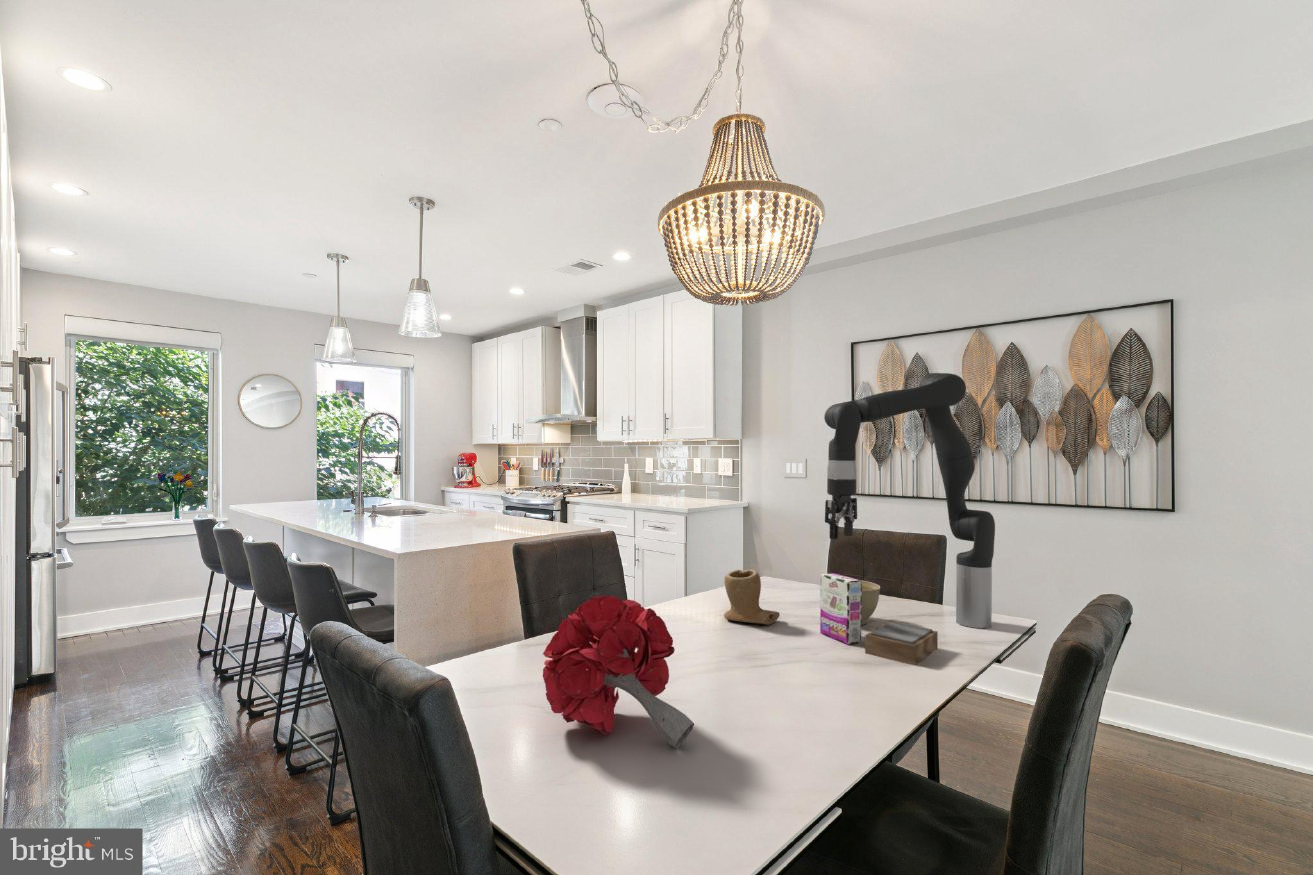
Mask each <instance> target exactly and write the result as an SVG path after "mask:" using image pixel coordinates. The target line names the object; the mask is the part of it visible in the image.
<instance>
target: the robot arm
mask: <svg viewBox="0 0 1313 875" xmlns="http://www.w3.org/2000/svg"><path fill="white" fill-rule="evenodd" d="M966 392H967V385H966V382H965V380H964V379H963V378H962V377H960V375H958V374H953V373H950V372H949V373H948V372H931V373H928V374H926V375H924V376H923V377H922V378H921V380H920V382H919V385H918V386H917V387H911V388H904V389H897V390H889V391H883V392H880V393H876V394H872V395H868V396H865V397H862V398H859V399H854V400H850V401H843V402H840V403H835V404H834V403H833V404H832V405H831V406H829V407H828V408H827V409H826V411H825V412H824V416H823V417H824V422H825V424H826V425H827V426H828V427H829V428H830V429H832V430H835V431H834V437H833V438H832V439H831V440H830V441H829V443H828V456H827V458H828V463H827V472H826V473H827V476H826V477H827V478H826V479H827V480H826V481H827V482H826V486H827V487H826V492H827V494H828V495H829V496H831V499H830V500H829V499H826V500H825V505H824V523H825V524H827V525H829V539H830V540H835V541H836V540H839V537H840V536H839V534H840V533H839V526H840V525H839V523H840V521H841V519H843V520H844V522H843V535H844V536H845V537H852V536H854V523H855V520H858V499H857V497H854V496H856V495H857V464H856V463H857V460H856V454H857V453H856V446H857V441H858V436H859V434H860V430H861V424H862V423H870V422H876V421H880V420H883V419H888V418H891V417H894V416H899V415H901V414H906V413H909V412H915V411H919V410H923V409H924V410H923V411H924V413H925V416H926V418H927V420H928V421H927V422H928V424H929V427H930V431H931V436H932V440H933V444H934V448H935V453H936V459H937V462H938V463H937V464H938V467H939V471H940V475H941V480H942V482H943V487H944V493H945V494H944V495H945V498H946V507H947V514H948V515H947V516H948V521H949V527H950V530H951V533H952V535H953V536H954V538H956V539H957V540H961V541H967V542H968V541H969V542H973V546H972V549H970V550H967V551H963V552H959V553H957V554H956V558H955V561H956V565H955V566H956V572H955V573H956V577H955V581H956V583H955V586H956V592H955V594H956V595H955V596H956V597H955V598H956V602H955V604H956V605H955V622H956V623H957V624H959V625H962V626H965V627H970V628H977V629H988V628H991V627H992V626H993V625H992V621H993V619H992V616H993V614H992V613H993V611H992V610H993V608H992V607H993V606H992V605H993V602H992V600H993V590H992V587H993V582H992V581H993V579H992V578H993V558H994V554H995V535H996V522H995V518H994V516H993V513H991V512H989V511H987V510H977V509H971V508H970V509H969V508H968V507H967V504H966V494H965V493H966V490H967V488H968V486H969V483H970V482H971V480H972V479H973V475H974V473H975V469H976V465H975V464H976V463H975V460H974V455H973V450H972V446H971V444H970V442H969V440H968V438H967V436H965V434H964V433H963V431H962V430H961V428H960V427H959V426H958V424H957V422H956V421H955V419H954V417H953V414H952V411H951V407H953V406H956V405H958V404H959V403H960V402H962V400H963V399H964V398H965V396H966Z"/></svg>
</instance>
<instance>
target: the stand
mask: <svg viewBox="0 0 1313 875" xmlns="http://www.w3.org/2000/svg"><path fill="white" fill-rule="evenodd" d="M938 632H939V631H936V630H933V628H928V627H923V626H917V625H912V624H907V623H903V622H897V621H890V622H888V623H887V624H884V625H882V626H879V627H878V628H877V629H874V630H872V631H871V632H868V633H866V634H865V635H864V636H865V639H864V640H865V643H864V644H865V647H864V648H865V650H864V651H865V654H867V655H872V656H875V657H880V658H883V659H887V660H892V661H895V662H898V663H899V662H900V663H903V664H908V665H912V666H915V665H917V664H918V663H920V662H921V661H923V660H924V659H926V658H927V657H929V656H930V655H931V654H933V653H935V651H937V650H938V648H939V647H938V646H939V644H938V642H939V641H938V640H939V638H938V637H939V634H938Z"/></svg>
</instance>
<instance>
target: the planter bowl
mask: <svg viewBox="0 0 1313 875" xmlns="http://www.w3.org/2000/svg"><path fill="white" fill-rule="evenodd" d="M861 581H862V608H861V626H862V625H863V626H864V625H867V624H868V623H869V620H870V618H871V617H872V615H873V614H874V612H875V611H876V608H877V607H878V603H879V599H880V591H881V586H880V584H877V583H874V582H871V581H868V580H867V581H866V580H861Z"/></svg>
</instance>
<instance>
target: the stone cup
mask: <svg viewBox="0 0 1313 875" xmlns="http://www.w3.org/2000/svg"><path fill="white" fill-rule="evenodd" d="M724 587H725V588H724V589H725V591H726V595H727V597H728V601H729V602H730V609H729V610H727V611H726V612H724V613H723V618H725V619H726V620H729V621H734V622H743V623H750V624H757V625H758V624H759V625H767V626H769V625H772V624H774V623H775V622H776V621H777V620H778V619H779V618H780V616H781V615H780V612H778V611H775V610H774V611H773V610H768V609H762V608H761V606H760V596H761V590H762V588H761V587H762V583H761V577H760V574H759V572H758V571H756V570H754V569H751V568H750V569H744V570H742V569H741V570H740V569H736V570H732V571H729V572H728V573H726V574H725V576H724Z"/></svg>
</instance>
